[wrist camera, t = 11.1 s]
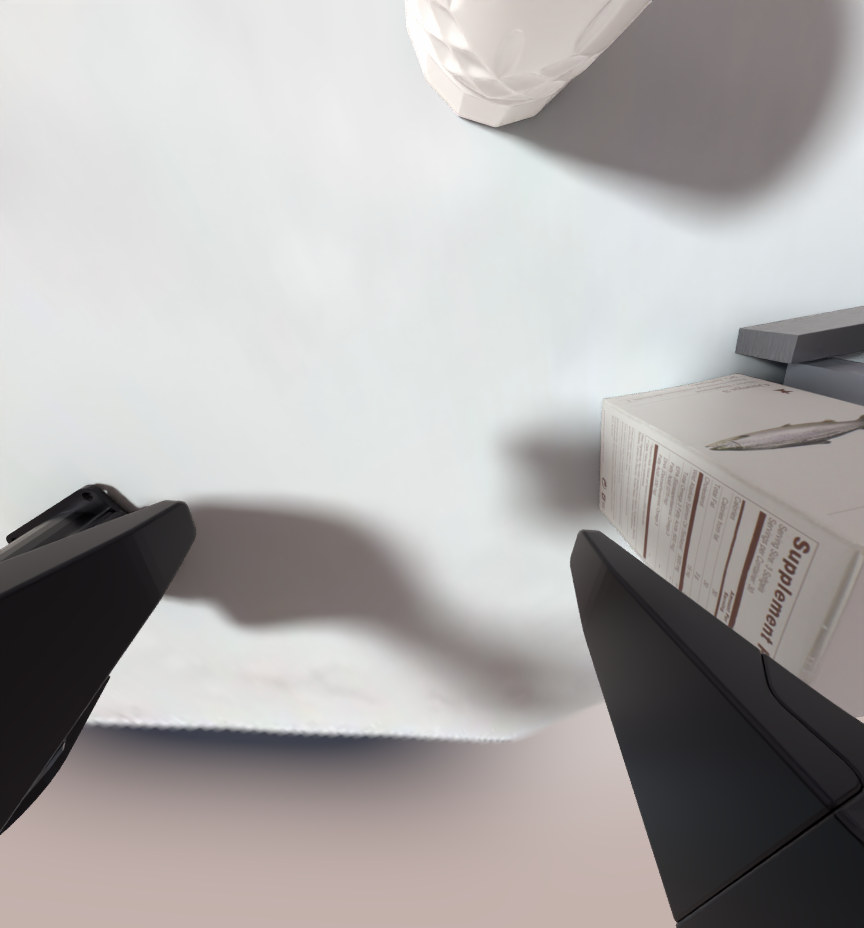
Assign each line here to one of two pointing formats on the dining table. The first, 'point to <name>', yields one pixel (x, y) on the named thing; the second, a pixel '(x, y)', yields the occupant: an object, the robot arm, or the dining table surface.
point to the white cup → (511, 50)
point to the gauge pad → (828, 378)
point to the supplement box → (750, 514)
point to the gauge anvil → (805, 337)
